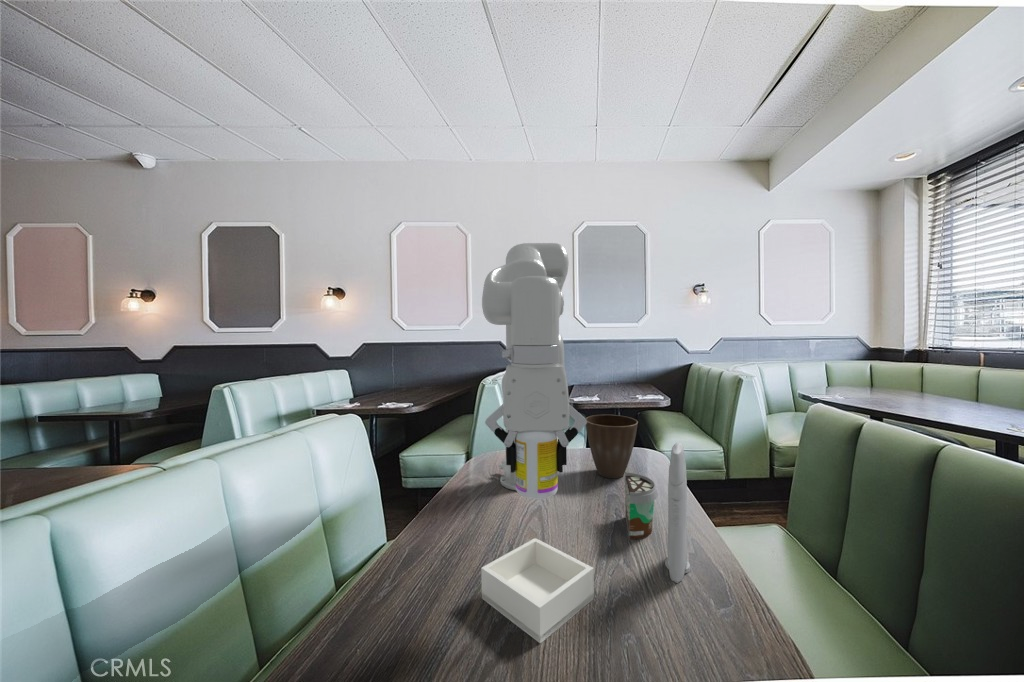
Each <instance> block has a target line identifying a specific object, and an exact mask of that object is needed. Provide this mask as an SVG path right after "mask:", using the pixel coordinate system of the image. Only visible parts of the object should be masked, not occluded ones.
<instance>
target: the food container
mask: <svg viewBox="0 0 1024 682" xmlns="http://www.w3.org/2000/svg"><path fill="white" fill-rule="evenodd" d="M624 482H625V483H624V486H625V487H624V491H625V492H624V493H625V497H624V498H625V499H624V500H625V507H624V508H625V522H626V527H627V532H628V533H627V534H628V539H629V540H641V539H644V538H648V537H649V536H650V535H651V534H652V532H653V521H654V507H655V505H654V504H655V500H656V499H658V496H659V495H658V489H657V486H656V484H655V482H654V481H653V479H651V478H650V477H648V476H645V475H643V474H638V473H635V472H628V471H627V472H626V471H625V473H624Z"/></svg>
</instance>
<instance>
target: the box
mask: <svg viewBox="0 0 1024 682" xmlns="http://www.w3.org/2000/svg"><path fill="white" fill-rule="evenodd" d="M480 569H481V571H480V572H481V574H480V575H481V599H482V600H484V602H485V603H487V604H488V605H489V606H491V607H492V608H493V609H495V610H496V611H498V613H500V614H501V615H502V616H504V617H505V618H506V619H508V620H509V621H510V622H512V623H513V624H514V625H516V626H517V627H518V628H519V629H520V630H521V631H523V632H525V633H526V634H527V635H528V636H530V637H531V638H533V639H534V640H535V641H536V642H537V643H539V644H542V643H543V642H544V641H545V640H547V639H548V638H549V637H551V635H553V634H554V633H555V632H557V631H558V630H559V629H560V628H561V627H563V625H564V624H566V623H567V622H568V621H569V620H570V619H572V618H573V617H574V616H575V615H576V614H578V613H579V612H580V611H582V610H583V608H585V607H586V606H587V605H588V604H589V603H591V602H592V601H593V600H594V599H595V598H594V597H595V596H594V595H595V593H594V592H595V591H594V589H595V588H594V586H595V582H594V577H595V576H594V572H595V570H594V567H593V566H591V565H588V564H587V563H584V562H583V561H581V560H578V559H577V558H575V557H573V556H571V555H569V554H568V553H565V552H564V551H562V550H560V549H558V548H555V547H553V546H552V545H550V544H548V543H546V542H544V541H542V540H540V539H538V538H536V537H535V538H532V539H531V540H528V541H527V542H526V543H524V544H522V545H519V546H518V547H515V548H514V549H513V550H511V551H509V552H507V553H505V554H503V555H502V556H500V557H498V558H497V559H495V560H493V561H491V562H489V563H488V564H485V565H484V566H482V567H481V568H480Z"/></svg>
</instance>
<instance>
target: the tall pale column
mask: <svg viewBox="0 0 1024 682" xmlns="http://www.w3.org/2000/svg"><path fill="white" fill-rule="evenodd" d="M671 447H672V448H671V451H670V458H669V465H668V466H669V468H668V483H667V486H668V487H667V490H668V491H667V501H668V502H667V504H668V505H667V507H668V509H667V510H668V511H667V512H668V515H667V517H668V518H667V519H668V521H667V556H666V558H665V559H664V560H665V561H664V563H665V565H664V566H665V567H666V568H667V569H668V572H669V579H670V580H671V582H673V583H676V584H679V583H681V582H682V581H683V579H684V577H685V574H688V573H689V572H690V571H691V563H690V562H689V561H688V528H687V525H688V524H687V523H688V522H687V521H688V520H687V519H688V517H687V515H688V514H687V513H688V511H687V509H688V508H687V506H688V505H687V503H688V502H687V501H688V498H687V497H688V495H687V494H688V491H687V490H688V485H687V484H688V482H687V464H686V458H685V449H684V446H683V443H681V442H676V443H675V444H673V445H672V446H671Z"/></svg>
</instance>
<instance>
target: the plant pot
mask: <svg viewBox="0 0 1024 682" xmlns="http://www.w3.org/2000/svg"><path fill="white" fill-rule="evenodd" d="M585 419H586V420H587V424H586V425H585V429H586V435H587V440H588V445H589V449H590V452H591V457H592V459H593V464H594V465H595V466H594V467H596V468H595V469H596V470H597V471H596V472H597V473H598V475H599V476H601V477H603V478H607V479H619V478H622V477H624V476H625V472H626V470H627V468H628V466H629V462H630V459H631V456H632V453H633V449H634V445H635V440H636V437H637V431H638V430H637V429H638V423H639V421H638V420H637V419H635V418H633V417H629V416H624V415H619V414H618V415H615V414H595V415H590V416H587V417H585Z"/></svg>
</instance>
